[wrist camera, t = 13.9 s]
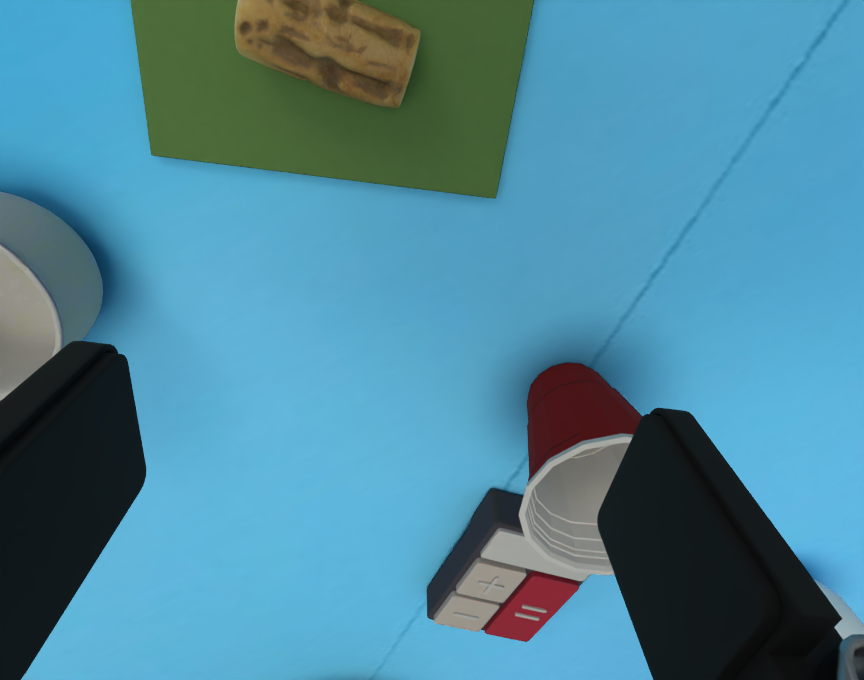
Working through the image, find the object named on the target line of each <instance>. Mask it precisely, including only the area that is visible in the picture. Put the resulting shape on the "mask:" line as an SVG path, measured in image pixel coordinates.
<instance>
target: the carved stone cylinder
mask: <svg viewBox="0 0 864 680" xmlns="http://www.w3.org/2000/svg"><path fill="white" fill-rule="evenodd" d="M420 35H421V32H420V30H419V29H417V28H413V27H411V26H410V25H409V24H408V23H406V22H405V21H403V20H400V19H399V18H396V17H394V16H392V15H390V14H387V13H385V12H382V11H380V10H378V9H376V8H373V7H371V6H369V5H366V4H364V3H363V2H359V1H357V0H238V2H237V7H236V15H235V44H236V48H237V51H238V52H239V53H240V54H241V55H242V56H243V57H246V58H248V59H250V60H252V61H255V62H257V63H259V64H261V65H264V66H266V67H269V68H271V69H273V70H276V71H279V72H282V73H284V74H287V75H289V76H292V77H295V78H297V79H301V80H308V81H310V82H311V83H313V84H314V85H316V86H318V87H321V88H323V89H326V90H330V91H333V92H335V93H339V94H342V95H344V96H347V97H350V98H353V99H356V100H359V101H362V102H367V103H370V104H373V105H377V106H381V107H390V108H398V107H399V106H400V105H401V103H402V100H403V97H404V94H405V91H406V88H407V85H408V82H409V79H410V76H411V72H412V69H413V65H414V62H415V58H416V54H417V50H418V46H419V41H420Z"/></svg>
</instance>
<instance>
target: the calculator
mask: <svg viewBox="0 0 864 680" xmlns="http://www.w3.org/2000/svg"><path fill="white" fill-rule="evenodd" d="M522 500H523V497H520V496H517V495H513V494H509V493H506V492H502V491H498V490H491V491H489V493H488V494H487V495H486V497H485V498H484V500H483V501H482V503H481V504H480V506H479V507H478V509H477V510H476V512H475V513H474V515H473V517H472V520H471V523H470V526H469V528H468V530H467V531H466V533H465V534H464V535H463V537H462V538H461V540H460V541H459V543H458V544H457V546H456V547H455V548H454V550H453V551H452V553H451V554H450V556H449V557H448V559H447V560H446V561H445V563H444V564H443V566H442V567H441V569H440V570H439V572H438V573H437V575H436V576H435V577H434V579H433V580H432V582H431V583H430V585H429V586H428V588H427V617H428V618H429V619H432V620H434V623H437V624H441V625H446V626H451V627H456V628H461V629H466V630H470V631H476V632H478V631H480V630H485V633H486V634H490V635H495V636H500V637H505V638H510V639H515V640H519V641H525V642H527V641H529V640H530V639H531V638H532V637H533V636H534V635H535V634H536V633H537V632H538V631H539V630H540V629H541V628H542V627H543V625H544V624H545V623H546V622H547V621H548V620H549V619H550V618H551V617H552V616H553V615H554V614H555V613H556V612H557V611H558V610H559V609H560V608H561V607H562V606H563V605H564V604H565V603H566V602H567V601H568V600H569V599H570V597H571V596H572V595H573V594H574V593H575V592H576V591H577V590H578V589H579V586H580V585H581V584H582V583H583V582H584V581H585V580H586V579H587V578H588V577H589V576H590V575H591V573H582V572H573V571H571V570H568V569H566V568H564V567H561V566H559V565H557V564H555V563H552V562H550V561H548V560H545V559H544V558H543V557H542V556H541V555H540V554H539V553H538V552H537V551H536V550H535V549H534V548H533V547H532V546H531V545H530V544H529V543H528V542H527V541H526V540H525V536H524V533H523V529H522V525H521V522H520V518H519V511H520V507H521V503H522Z"/></svg>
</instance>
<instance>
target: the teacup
mask: <svg viewBox="0 0 864 680" xmlns="http://www.w3.org/2000/svg"><path fill="white" fill-rule="evenodd" d="M102 298H103V284H102V278H101V274H100V270H99V268H98V265H97V263H96V260H95V258H94V256H93V254H92V253H91V251H90V249H89V248H88V246H87V245H86V244H85V242H84V241H83V240H82V238H81V237H80V236H79V235H78V234H77V233H76V232H75V231H74V230H73V229H72V228H71V227H70V226H69V225H68V224H67V223H65V222H64V221H63V220H62V219H60V218H59V217H58V216H57V215H55V214H53V213H52V212H50V211H49V210H47V209H45V208H44V207H42V206H40V205H38V204H36V203H34V202H32V201H29V200H27V199H25V198H22V197H19V196H16V195H13V194H9V193H5V192H1V191H0V401H1V400H2V399H3V398H5V397H6V396H7V395H8V394H9V393H11V392H12V391H13V390H14V389H15V388H16V387H18V386H19V385H20V384H21V383H22V382H24V381H25V380H26V379H27V378H28V377H29V376H31V375H32V374H33V373H34V372H35V371H37V370H38V369H39V368H40V367H41V366H42V365H44V364H45V363H46V362H47V361H48V360H50V359H51V358H52V357H53V356H54V355H55V354H57V353H58V352H59V351H60V350H61V349H63V348H64V347H65V346H66V345H67V344H69V343H70V342H72V341H81V340H82V339H83V338H84V337H85V336H86V335H87V333H88V332H89V331H90V329H91V328H92V326H93V325H94V323H95V321H96V319H97V317H98V315H99V312H100V309H101V306H102Z"/></svg>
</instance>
